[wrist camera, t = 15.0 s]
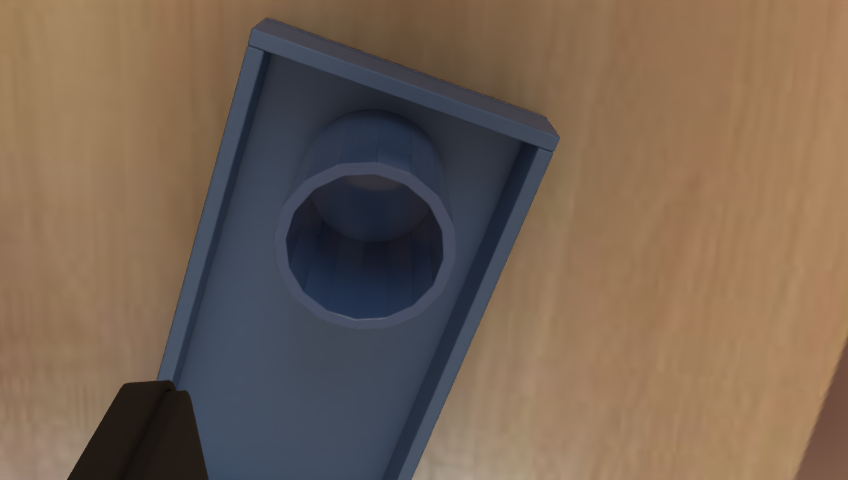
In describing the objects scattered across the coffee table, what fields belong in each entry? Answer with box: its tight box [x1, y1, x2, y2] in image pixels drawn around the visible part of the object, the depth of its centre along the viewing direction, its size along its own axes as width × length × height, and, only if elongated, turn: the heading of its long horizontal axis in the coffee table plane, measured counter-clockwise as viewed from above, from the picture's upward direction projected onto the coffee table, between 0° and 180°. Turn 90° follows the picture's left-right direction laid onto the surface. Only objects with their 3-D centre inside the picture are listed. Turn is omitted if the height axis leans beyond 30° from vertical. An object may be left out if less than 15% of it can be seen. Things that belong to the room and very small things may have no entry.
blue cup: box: [273, 109, 456, 330], centre depth 28 cm, size 6×6×7 cm
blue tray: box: [157, 18, 560, 480], centre depth 32 cm, size 22×11×3 cm, turn 160°
